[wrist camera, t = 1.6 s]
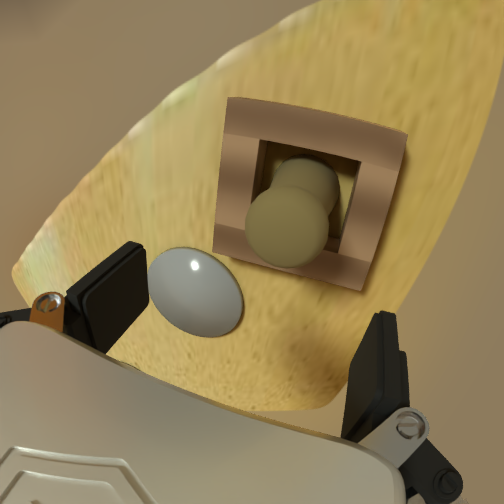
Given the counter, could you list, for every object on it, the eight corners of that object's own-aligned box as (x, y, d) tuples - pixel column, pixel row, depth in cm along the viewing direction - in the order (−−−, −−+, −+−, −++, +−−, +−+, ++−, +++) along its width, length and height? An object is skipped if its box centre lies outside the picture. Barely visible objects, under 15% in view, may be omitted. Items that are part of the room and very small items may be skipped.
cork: (341, 219, 28) (335, 285, 18) (276, 220, 30) (239, 282, 20) (337, 152, 25) (332, 184, 16) (268, 156, 27) (222, 190, 18)
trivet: (237, 344, 38) (235, 348, 38) (153, 315, 41) (150, 319, 40) (249, 263, 33) (247, 266, 32) (148, 235, 35) (144, 238, 34)
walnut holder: (360, 274, 30) (360, 290, 27) (223, 238, 32) (212, 252, 30) (401, 131, 23) (407, 134, 20) (239, 97, 25) (227, 97, 23)
